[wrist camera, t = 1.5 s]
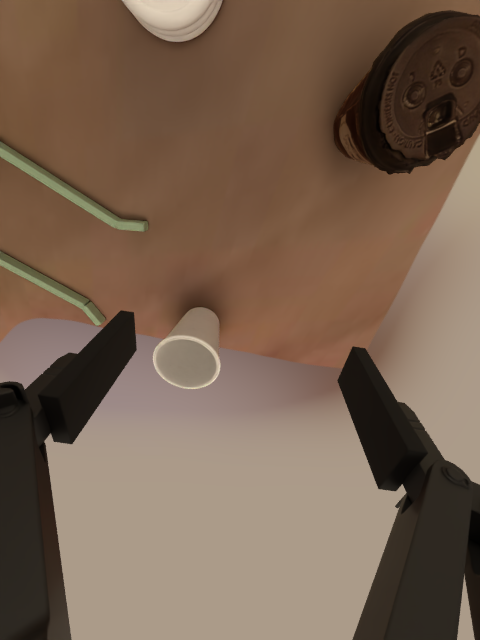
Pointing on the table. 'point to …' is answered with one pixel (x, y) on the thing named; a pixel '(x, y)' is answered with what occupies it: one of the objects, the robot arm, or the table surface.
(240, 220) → the table surface
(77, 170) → the table surface
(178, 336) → the dixie cup
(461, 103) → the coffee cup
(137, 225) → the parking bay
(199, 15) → the coaster
